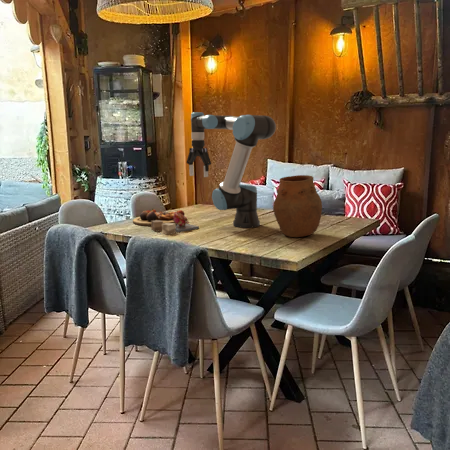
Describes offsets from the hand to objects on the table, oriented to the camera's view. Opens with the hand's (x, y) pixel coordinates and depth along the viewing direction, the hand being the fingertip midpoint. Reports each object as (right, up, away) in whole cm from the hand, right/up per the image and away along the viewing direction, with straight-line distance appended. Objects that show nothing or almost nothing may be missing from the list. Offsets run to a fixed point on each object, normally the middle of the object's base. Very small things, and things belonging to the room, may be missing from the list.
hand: (198, 176), depth 256 cm
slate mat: (-9, -31, -17) cm, 36 cm away
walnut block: (-21, -32, -20) cm, 43 cm away
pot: (+52, -34, -36) cm, 72 cm away
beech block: (-14, -33, -28) cm, 46 cm away
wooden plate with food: (-24, -27, +5) cm, 36 cm away
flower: (-9, -30, -17) cm, 35 cm away
